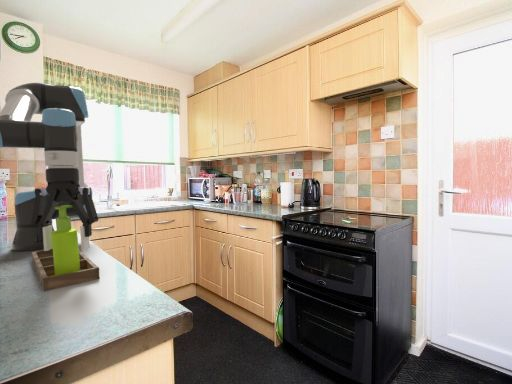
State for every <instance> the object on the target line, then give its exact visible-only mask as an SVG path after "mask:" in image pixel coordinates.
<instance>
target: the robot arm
mask: <svg viewBox="0 0 512 384" xmlns="http://www.w3.org/2000/svg"><path fill="white" fill-rule="evenodd" d="M4 102H5V104H4V106H3V107H2V109H1V111H0V149H1V148H11V149H14V148H17V149H21V148H22V149H27V148H28V149H30V148H31V149H43V151H44V152H43V154H44V166H45V167H47V168H45V170H44V171H45V181H46V183H47V185H46V187H43V188H42V187H41V188H40V187H39V188H35V189H33V190H27V191H26V190H25V191H20V192H18V193H16V194H15V196H14V205H13V206H14V208H15V209H14V210H15V212H14V213H15V223H16V232H15V235H14V237H13V241H12V244H11V246H12V247H11V248H12V250H13V251H17V252H22V251H23V252H25V251H34V250H36V251H38V250H44V251H48V250H50V249H53V247H52V236H51V232H53V231H56V230H55V227H54V225H53V220H56V219H57V218H58V217H59V210H57V209H55V207H58V206H63V205H72V207H71V208H66V213H67V217H70V218H71V219H74V218H77V219H80V222H81V223H82V225H80V226H79V227H80V245H81V251H83V250H84V251H85V250H86V249H88V248H90V237H91V236H92V234H93V232H92V231H93V230H92V225H93V224H94V223H97V222H98V221H99V216H98V213H97V209H96V206H95V203H94V200H93V190H92V187H90V186H89V185H87V184H86V183H85V178H84V177H85V176H84V160H83V157H84V156H83V141H82V125H83V124H85V123H86V119H88V118H89V112H88V105H87V101H86V97H85V93H84V90H83V89H82V88H80V87H76V86H70V85H60V84H50V83H42V82H28V83H25V84H20V85H17V86H15V87H13V88H12V89H10V90H9V91H8V93H6V95H5V100H4ZM34 115H41V121H32V119H33V116H34Z"/></svg>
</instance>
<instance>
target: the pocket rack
mask: <svg viewBox="0 0 512 384" xmlns="http://www.w3.org/2000/svg"><path fill="white" fill-rule="evenodd" d="M31 261H32V263H33V265H34V269H35V272H36V274H37V276H38V279H39V281H40V284H41V287H42V290H43V292H46V291H51V290H55V289H59V288H63V287H68V285H69V286H72V284H73V285H77V284H81V282H82V283H86V282H89V281H94V280H99V279H101V278H100V267H99V266H98V265H97V264H95V262H93V261H92V260H91V259H90V258H89V257H88V256H87V255H86V254H85V253H84V252H82V250H81V249H79V261H80V271H76V272H71V273H66V274H61V275H56V276H55V269H54V258H53V249H50V250H48V251H44V249H40V250H36V251H34V250H33V251H31ZM76 283H77V284H76Z"/></svg>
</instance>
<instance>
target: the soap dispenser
mask: <svg viewBox="0 0 512 384" xmlns="http://www.w3.org/2000/svg"><path fill="white" fill-rule="evenodd" d="M71 207H72V205H63V206H58V207H55V209H57V210H59V217H58V218H57V219H55V224H56V227H55V228H56V230H55V231H53V232H51V236H52V247H53V258H54V269H55V276H56V275H61V274H66V273H71V272H76V271H80V261H79V250H80V249H79V238H78V237H79V236H78V229H76V228H72V218H70V217H67V213H66V208H71Z"/></svg>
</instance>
